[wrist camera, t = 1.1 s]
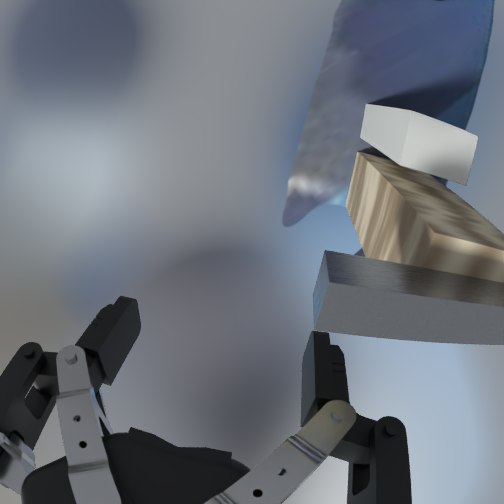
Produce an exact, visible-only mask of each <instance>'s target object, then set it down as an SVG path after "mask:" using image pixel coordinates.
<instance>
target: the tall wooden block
mask: <svg viewBox="0 0 504 504" xmlns="http://www.w3.org/2000/svg"><path fill="white" fill-rule="evenodd" d="M346 208H347V210H348V212H349V215H350V217H351V220H352V222H353V225H354V227H355V230H356V233H357V235H358V238H359V240H360V243H361V246H362V248H363V251H364V254H365V257H367V258H373V259H378V260H384V261H390V262H395V263H401V264H406V265H412V266H417V267H423V268H428V269H434V270H439V271H444V272H450V273H455V274H460V275H466V276H471V277H476V278H481V279H487V280H492V281H497V282H502V283H504V234H503V233H502V232H501V231H500V230H498V229H497V228H496V227H495V226H494V225H493V224H492V223H491V222H489V221H488V220H487V219H486V218H485V217H484V216H482V215H481V214H480V213H479V212H478V211H476V210H475V209H474V208H473V207H472V206H470V205H469V204H468V203H467V202H465V201H464V200H463V199H462V198H460V197H459V196H458V195H456V194H455V193H454V192H452V191H451V190H450V189H448V188H447V187H446V186H444V185H443V184H442V183H440V182H439V181H438V180H436V179H435V178H433V177H432V176H431V175H429V174H428V173H425V172H422V171H418V170H415V169H411V168H408V167H404V166H401V165H399V164H397V163H396V162H395V161H393V160H390V159H386V158H383V157H379V156H375V155H370V154H366V153H362V152H358V151H357V156H356V160H355V165H354V170H353V175H352V179H351V184H350V188H349V192H348V197H347V201H346Z"/></svg>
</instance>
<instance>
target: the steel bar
mask: <svg viewBox="0 0 504 504" xmlns="http://www.w3.org/2000/svg"><path fill="white" fill-rule="evenodd" d="M313 312H314V330H318V331H327V332H333V333H342V334H350V335H359V336H368V337H377V338H388V339H399V340H411V341H424V342H439V343H458V344H486V345H488V344H489V345H504V283H502V282H497V281H492V280H487V279H481V278H476V277H471V276H466V275H460V274H455V273H450V272H444V271H439V270H434V269H428V268H423V267H417V266H412V265H406V264H401V263H395V262H390V261H384V260H378V259H373V258H367V257H361V256H356V255H350V254H344V253H338V252H333V251H326V250H325V251H324V255H323V259H322V263H321V267H320V270H319V274H318V278H317V281H316V285H315V289H314V292H313Z"/></svg>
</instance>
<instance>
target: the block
mask: <svg viewBox="0 0 504 504" xmlns="http://www.w3.org/2000/svg"><path fill="white" fill-rule="evenodd" d="M360 138H362V139H363V140H365V141H366V142H368V143H369V144H371V145H372V146H373V147H375V148H376V149H378V150H379V151H381V152H382V153H384V154H385V155H386V156H388V157H389V158H391V159H392V160H393V161H395V162H396V163H397V164H399V165H401V166H404V167H408V168H411V169H415V170H418V171H422V172H425V173H428V174H432V175H435V176H438V177H441V178H444V179H447V180H451V181H454V182H456V183H459V184H462V185H466V184H467V181H468V177H469V173H470V170H471V166H472V162H473V158H474V154H475V150H476V145H477V141H478V136H476V135H474V134H472V133H469V132H467V131H465V130H462V129H460V128H457V127H455V126H452V125H450V124H447V123H445V122H442V121H440V120H437V119H434V118H431V117H429V116H426V115H423V114H420V113H417V112H414V111H411V110H405V109H399V108H393V107H386V106H379V105H371V104H366V107H365V113H364V119H363V124H362V130H361V135H360Z"/></svg>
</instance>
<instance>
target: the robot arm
mask: <svg viewBox="0 0 504 504" xmlns="http://www.w3.org/2000/svg"><path fill="white" fill-rule="evenodd" d="M439 1H441V0H439ZM140 329H141V321H140V316H139V310H138V303H137V300H136V299H133V298H129V297H124V296H120V297H119V298H118V299H117V301H116V302H115V304H114V305H112V304H109V305H107V306H106V307H104V308H103V309H101V310H100V312H99V313H98V315H97V316H96V318H95V319H94V320H93V321H92V322H91V324H90V325H89V326H88V328H87V329H86V330H85V332H84V333H83V335H82V336H81V337H80V339H79V340H78V342H77V343H76V344H75V345H71V346H67V347H64V348H63V349H61V350H60V351H59V353H55V352H43V350H42V348H41V346H40V345H39V344H38V343H34V342H29V343H26V344H24V345H23V346H21V347H20V348H19V350H18V351H17V353H16V354H15V355H14V357H13V358H12V360H11V361H10V363H9V364H8V365H7V367H6V369H5V370H4V371H3V373H2V375H1V376H0V484H2V485H3V486H5V487H7V488H10V489H12V490H13V491H15V492H17V493H18V494H20V495H21V499H22V504H282V503H283V502H284V501H285V500H286V499H287V498H288V497H289V496H290V495H291V494H292V493H293V492H294V491H295V490H296V489H297V488H298V487H299V486H300V485H301V484H302V483H303V482H304V481H305V480H306V479H307V478H308V477H309V476H310V475H311V474H312V473H313V472H314V471H315V469H317V467H319V465H320V464H321V463H322V462H323V461H324V460H325V459H326V458H327V456H328V455H329V456H333V457H335V458H338V459H342V460H345V461H348V462H349V471H348V472H349V473H348V494H347V504H412V496H411V479H410V465H409V454H408V445H407V435H406V429H405V426H404V425H403V423H402V422H401V421H400V420H399V419H397V418H395V417H391V416H386V417H383V418H381V419H379V420H378V421H375V420H372V419H369V418H366V417H363V416H361V415H359V414H358V413H356V411H355V409H354V408H353V407H352V406H351V405H350V402H349V394H348V385H347V376H346V368H345V359H344V354H343V352H342V351H341V349H340V347H339V346H338V345H330V338H329V333H327V332H318V331H312V332H311V334H310V337H309V340H308V343H307V347H306V349H305V352H304V356H303V362H302V397H301V427H303V428H302V429H301V430H300V431H299V432H298V433H297V434H295V435H294V436H291V437H289V438H288V439H287V440H285V441H284V442H283V443H282V444H281V445H280V446H279V447H278V448H277V449H275V450H274V451H273V452H272V453H271V454H270V455H269V456H267V457H266V458H265V459H264V460H263V461H262V462H260V463H259V464H258V465H257V466H256V467H255V468H253V469H252V470H250V469H249V468H248V467H247V466H245V465H244V464H242V463H240V462H238V461H236V460H234V459H232V458H231V456H232V452H227V451H221V450H216V449H211V448H206V447H205V448H199V447H197V448H194V447H177V446H174V445H173V444H171V443H169V442H167V441H165V440H163V439H161V438H159V437H158V436H156V435H154V434H151V433H148V432H144V431H142V430H138V429H135V428H132V427H131V428H130V430H129V433H113V430H112V428H111V426H110V423H109V420H108V416H107V413H106V409H105V406H104V402H103V398H102V394H101V391H100V387H101V385H102V383H104V384H107V385H110V386H111V384H112V383H113V381H114V379H115V377H116V375H117V373H118V371H119V369H120V368H121V366H122V364H123V362H124V361H125V359H126V357H127V355H128V353H129V351H130V350H131V348H132V346H133V344H134V343H135V341H136V339H137V337H138V336H139V333H140ZM32 384H33V386H32ZM31 386H32V388H31V390H30V391H29V389H30V387H31ZM28 391H29V393H28ZM27 393H28V395H27V396H26V394H27ZM25 396H26V398H25ZM56 402H57V409H58V416H59V422H60V427H61V433H62V438H63V443H64V448H65V452H66V456H64V457H62V458H60V459H58V460H56V461H53V462H51V463H49V464H47V465H45V466H42V467H40V468H38V469H35V467H36V466H35V456H34V453H33V449H34V447H35V444H36V442H37V440H38V438H39V436H40V434H41V432H42V430H43V428H44V426H45V424H46V422H47V419H48V417H49V415H50V413H51V412H52V409H53V408H54V406H55V403H56ZM34 469H35V470H34Z"/></svg>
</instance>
